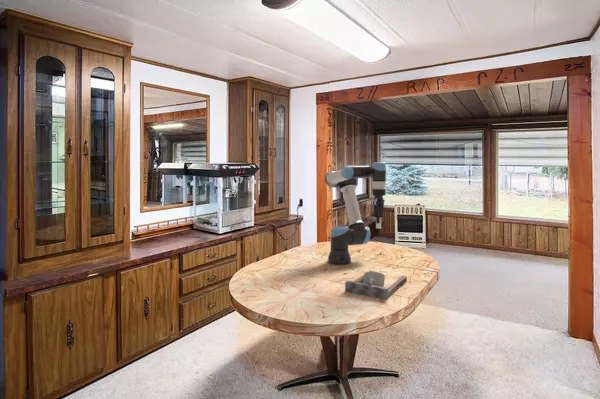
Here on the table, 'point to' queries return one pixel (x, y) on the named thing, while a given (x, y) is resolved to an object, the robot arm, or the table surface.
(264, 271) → the table surface
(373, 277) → the teacup
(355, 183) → the robot arm
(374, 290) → the guide track
